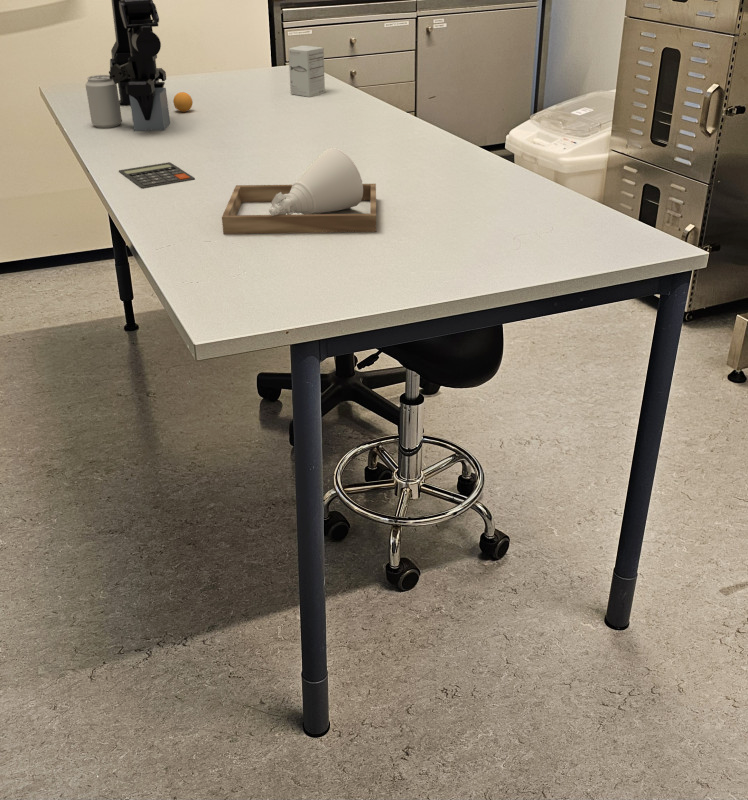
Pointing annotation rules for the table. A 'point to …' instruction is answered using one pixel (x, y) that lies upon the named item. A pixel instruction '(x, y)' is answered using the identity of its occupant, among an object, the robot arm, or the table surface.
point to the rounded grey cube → (158, 115)
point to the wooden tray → (292, 222)
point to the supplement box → (306, 70)
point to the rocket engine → (323, 187)
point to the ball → (182, 101)
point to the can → (103, 101)
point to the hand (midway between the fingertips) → (151, 116)
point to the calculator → (156, 175)
